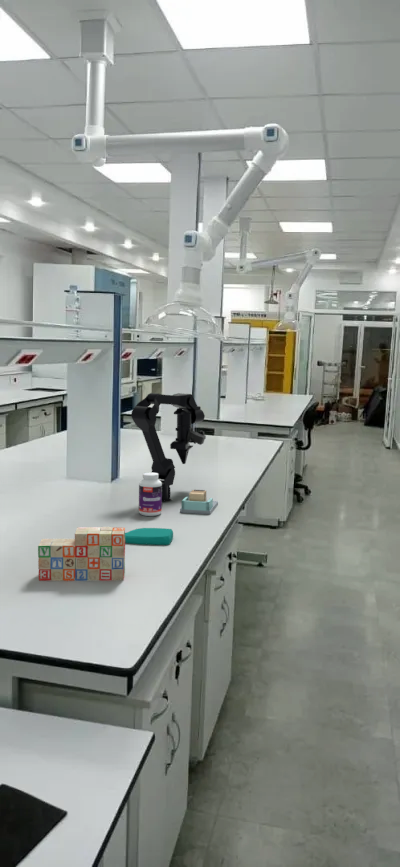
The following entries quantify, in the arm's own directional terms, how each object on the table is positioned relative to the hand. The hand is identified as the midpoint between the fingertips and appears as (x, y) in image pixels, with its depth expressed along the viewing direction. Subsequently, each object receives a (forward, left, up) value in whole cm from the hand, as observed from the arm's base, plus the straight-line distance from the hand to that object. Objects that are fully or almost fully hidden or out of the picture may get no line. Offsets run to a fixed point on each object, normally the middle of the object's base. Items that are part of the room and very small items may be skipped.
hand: (183, 463), depth 260 cm
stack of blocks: (-75, -66, -13) cm, 100 cm away
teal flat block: (-48, -44, -13) cm, 66 cm away
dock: (-9, -24, -12) cm, 28 cm away
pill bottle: (-28, -21, -12) cm, 37 cm away
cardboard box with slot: (-11, -26, -11) cm, 30 cm away
